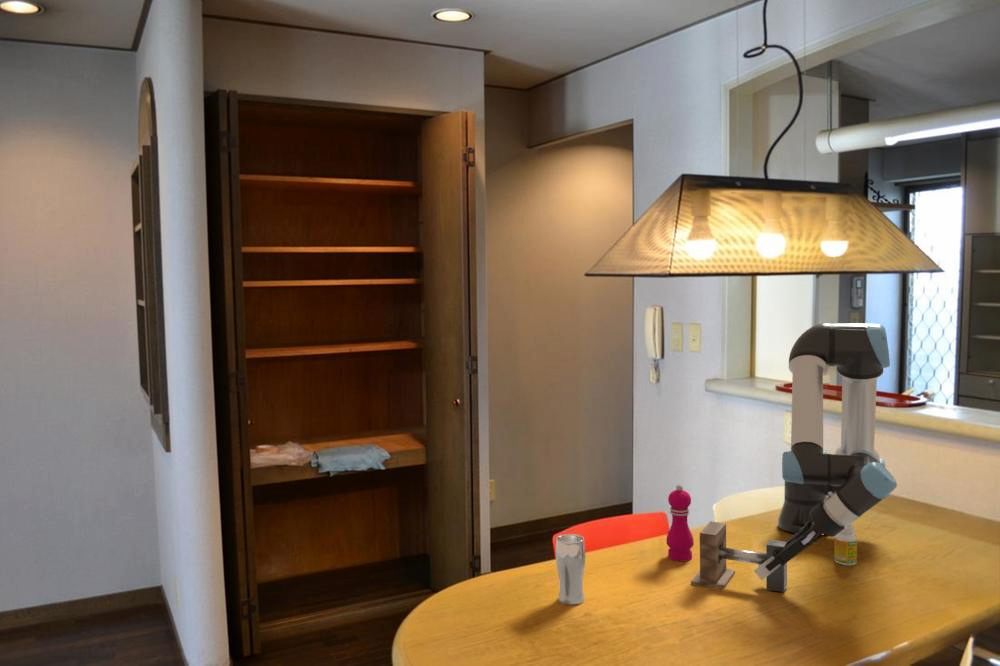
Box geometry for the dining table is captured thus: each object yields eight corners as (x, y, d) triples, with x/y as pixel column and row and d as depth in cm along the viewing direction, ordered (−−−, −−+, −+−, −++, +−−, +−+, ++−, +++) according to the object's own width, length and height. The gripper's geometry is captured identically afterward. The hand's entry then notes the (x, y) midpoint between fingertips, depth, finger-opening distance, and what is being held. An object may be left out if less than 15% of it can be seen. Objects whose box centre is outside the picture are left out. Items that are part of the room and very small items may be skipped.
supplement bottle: (849, 567, 202) (849, 530, 201) (830, 561, 206) (830, 525, 205) (860, 562, 205) (861, 526, 204) (841, 557, 209) (841, 521, 209)
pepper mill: (691, 552, 215) (691, 481, 214) (695, 562, 208) (695, 488, 207) (665, 552, 216) (664, 481, 215) (668, 561, 209) (667, 488, 208)
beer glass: (550, 599, 187) (549, 538, 186) (571, 591, 191) (570, 531, 190) (571, 608, 181) (570, 545, 180) (592, 600, 186) (591, 538, 185)
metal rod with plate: (786, 586, 190) (786, 541, 189) (783, 592, 187) (783, 547, 186) (714, 574, 199) (714, 531, 198) (710, 579, 195) (710, 536, 194)
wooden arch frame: (735, 573, 200) (735, 523, 199) (723, 590, 190) (723, 537, 189) (704, 568, 204) (703, 519, 203) (690, 584, 194) (690, 532, 193)
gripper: (826, 492, 190) (756, 548, 199) (815, 511, 175) (740, 571, 185) (850, 516, 188) (778, 572, 197) (841, 538, 173) (764, 597, 182)
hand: (760, 571), depth 191 cm, fingers closed on metal rod with plate, 4 cm apart
